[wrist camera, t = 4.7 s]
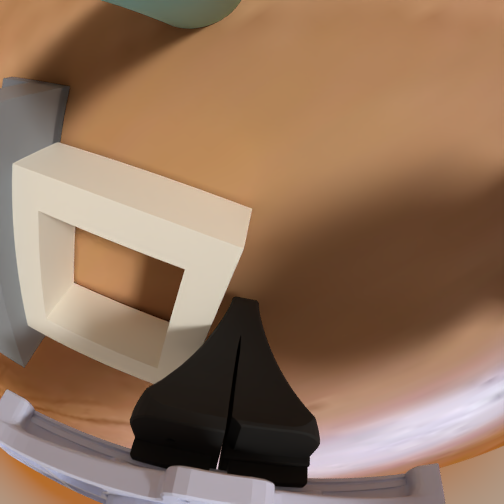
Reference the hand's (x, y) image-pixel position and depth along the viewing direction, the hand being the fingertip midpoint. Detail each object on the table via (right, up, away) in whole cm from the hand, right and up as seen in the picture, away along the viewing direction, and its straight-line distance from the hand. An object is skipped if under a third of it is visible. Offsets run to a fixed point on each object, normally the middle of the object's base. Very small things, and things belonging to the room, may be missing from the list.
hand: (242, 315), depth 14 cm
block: (-5, +3, 0) cm, 6 cm away
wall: (-10, +4, 0) cm, 11 cm away
